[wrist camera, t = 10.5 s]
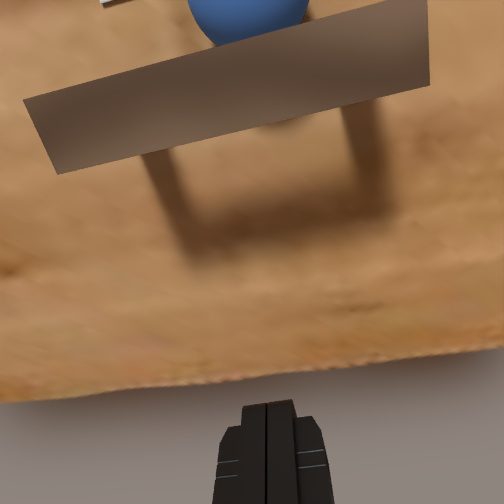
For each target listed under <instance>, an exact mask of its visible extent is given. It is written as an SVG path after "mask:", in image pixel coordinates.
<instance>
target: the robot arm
mask: <svg viewBox="0 0 504 504" xmlns="http://www.w3.org/2000/svg"><path fill="white" fill-rule="evenodd" d="M212 504H334V496H333V490H332V484H331V476H330V470H329V463H328V459H327V455H326V450H325V446H324V441H323V437H322V432H321V429H320V428H319V427H318V425H317V423H316V422H315V420H314V419H313V417H312V416H307V417H299V418H297V415H296V411H295V408H294V404H293V400H292V399H290V400H283V401H275V402H269V403H268V404H267V403H262V404H254V405H248V406H243V409H242V420H241V426H233V427H228V429H227V431H226V432H225V434H224V436H223V438H222V440H221V442H220V445H219V455H218V465H217V469H216V480H215V485H214V493H213V502H212Z"/></svg>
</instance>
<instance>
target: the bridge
mask: <svg viewBox="0 0 504 504" xmlns="http://www.w3.org/2000/svg"><path fill="white" fill-rule="evenodd" d="M429 85H430V73H429V41H428V9H427V0H386V1H383V2H379V3H375V4H372V5H368V6H364V7H361V8H357V9H353V10H350V11H346V12H342V13H339V14H335V15H331V16H328V17H324V18H320V19H317V20H313V21H309V22H306V23H302V24H298V25H295V26H291V27H287V28H284V29H280V30H276V31H273V32H269V33H265V34H262V35H258V36H254V37H251V38H247V39H243V40H240V41H236V42H232V43H229V44H225V45H221V46H218V47H214V48H210V49H207V50H203V51H199V52H196V53H192V54H188V55H185V56H181V57H177V58H174V59H170V60H166V61H163V62H159V63H155V64H152V65H148V66H144V67H141V68H137V69H134V70H130V71H126V72H123V73H119V74H115V75H112V76H108V77H104V78H101V79H97V80H93V81H90V82H86V83H82V84H79V85H75V86H71V87H68V88H64V89H60V90H57V91H53V92H49V93H46V94H42V95H38V96H35V97H31V98H27V99H24V100H23V102H24V104H25V106H26V108H27V110H28V113H29V115H30V117H31V119H32V121H33V123H34V125H35V128H36V130H37V132H38V134H39V136H40V138H41V140H42V143H43V145H44V147H45V149H46V151H47V153H48V155H49V158H50V160H51V162H52V164H53V166H54V168H55V171H56V173H57V175H59V174H63V173H67V172H71V171H75V170H79V169H84V168H88V167H92V166H96V165H100V164H104V163H109V162H113V161H117V160H121V159H125V158H129V157H134V156H138V155H142V154H146V153H150V152H154V151H159V150H163V149H167V148H171V147H175V146H179V145H184V144H188V143H192V142H196V141H200V140H204V139H209V138H213V137H217V136H221V135H225V134H229V133H234V132H238V131H242V130H246V129H250V128H254V127H259V126H263V125H267V124H271V123H275V122H279V121H283V120H288V119H292V118H296V117H300V116H304V115H308V114H313V113H317V112H321V111H325V110H329V109H333V108H338V107H342V106H346V105H350V104H354V103H358V102H363V101H367V100H371V99H375V98H379V97H383V96H388V95H392V94H396V93H400V92H404V91H408V90H413V89H417V88H421V87H425V86H429Z"/></svg>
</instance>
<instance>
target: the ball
mask: <svg viewBox="0 0 504 504" xmlns="http://www.w3.org/2000/svg"><path fill="white" fill-rule="evenodd" d="M308 3H309V0H188V4H189V7H190V10H191V12H192V14H193V16H194V18H195V20H196V22H197V24H198V26H199V27H200V29H201V30H202V31H203V32H204V34H205V35H206V36H207V37H208V38H209V39H210V40H211V41H212V42H213V43H215V44H216V45H218V46H221V45H225V44H229V43H232V42H236V41H240V40H243V39H247V38H251V37H254V36H258V35H262V34H265V33H269V32H273V31H276V30H280V29H284V28H287V27H291V26H295V25H298V24H300V22H301V21H302V19H303V17H304V14H305V12H306V9H307V6H308Z"/></svg>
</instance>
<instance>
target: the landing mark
mask: <svg viewBox="0 0 504 504" xmlns="http://www.w3.org/2000/svg"><path fill="white" fill-rule="evenodd" d="M110 1H113V0H100V3H101V4H103V3H106V2H110Z"/></svg>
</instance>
